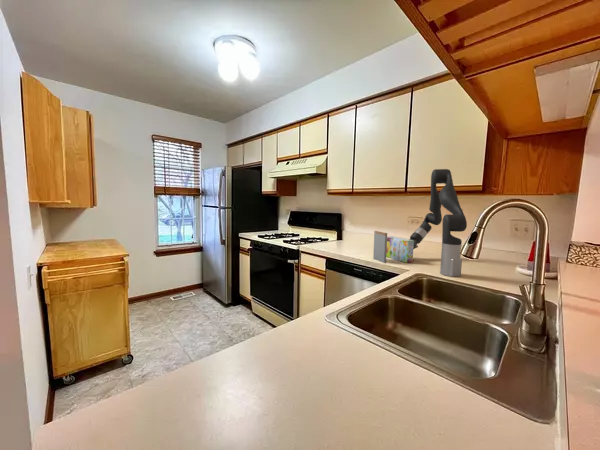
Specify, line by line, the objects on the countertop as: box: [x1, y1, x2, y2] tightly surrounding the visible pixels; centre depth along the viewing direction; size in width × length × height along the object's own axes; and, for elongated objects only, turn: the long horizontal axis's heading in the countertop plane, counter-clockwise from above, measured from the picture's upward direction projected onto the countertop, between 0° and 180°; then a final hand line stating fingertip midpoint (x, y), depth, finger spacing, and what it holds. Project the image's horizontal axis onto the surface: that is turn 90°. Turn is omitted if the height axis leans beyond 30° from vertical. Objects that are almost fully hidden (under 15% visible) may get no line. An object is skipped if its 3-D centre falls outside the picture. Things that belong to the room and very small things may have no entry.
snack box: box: [386, 236, 414, 264], centre depth 179 cm, size 21×6×15 cm, turn 22°
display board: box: [372, 230, 388, 264], centre depth 175 cm, size 13×2×20 cm, turn 15°
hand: (402, 253), depth 181 cm, fingers closed
